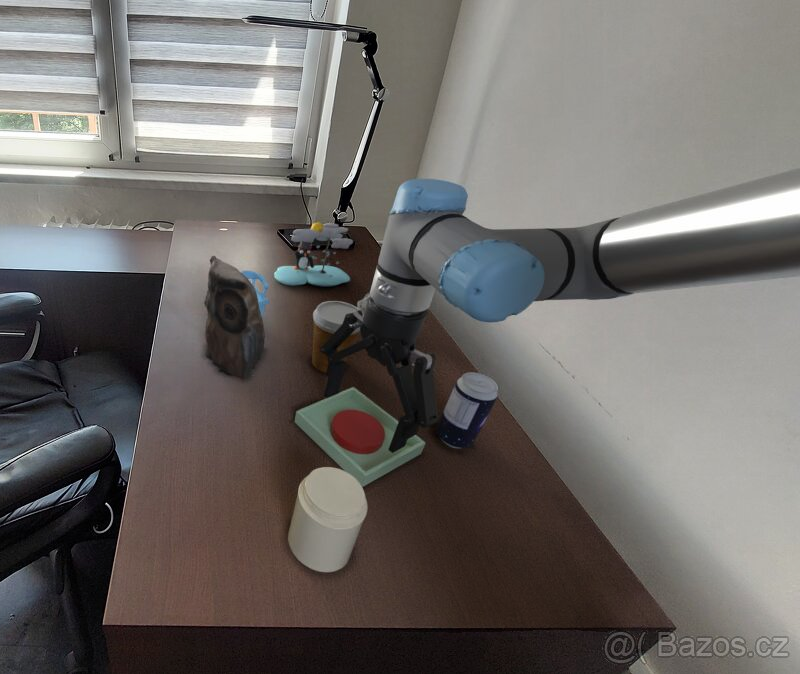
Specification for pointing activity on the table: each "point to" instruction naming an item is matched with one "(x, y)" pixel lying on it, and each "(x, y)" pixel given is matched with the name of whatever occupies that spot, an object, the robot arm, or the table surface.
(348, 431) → the jar lid
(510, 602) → the table surface
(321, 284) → the penguin figurine
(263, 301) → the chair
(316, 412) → the tray
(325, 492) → the jar
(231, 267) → the owl
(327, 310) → the disposable coffee cup
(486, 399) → the beverage can
